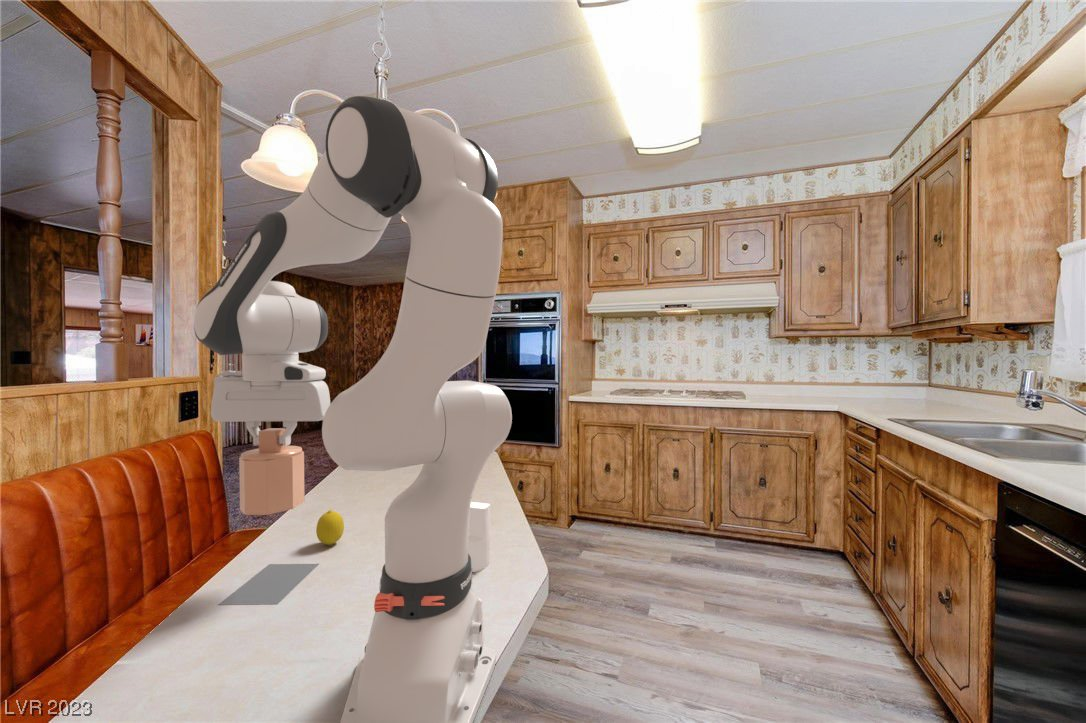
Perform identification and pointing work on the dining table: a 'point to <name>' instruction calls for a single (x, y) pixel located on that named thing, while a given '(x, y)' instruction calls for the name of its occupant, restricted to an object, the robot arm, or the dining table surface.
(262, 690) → the dining table surface
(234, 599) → the mat
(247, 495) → the cloche
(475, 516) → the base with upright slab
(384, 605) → the robot arm
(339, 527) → the lemon
